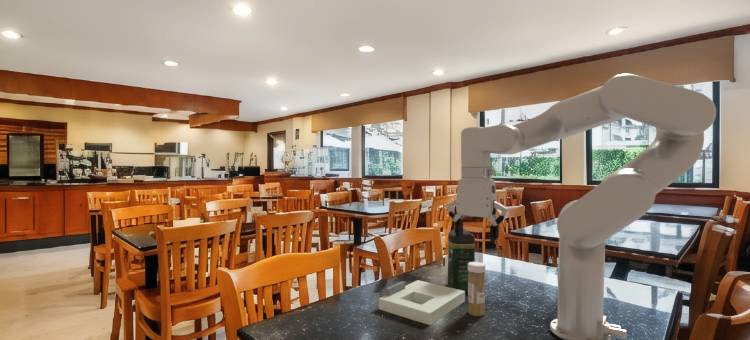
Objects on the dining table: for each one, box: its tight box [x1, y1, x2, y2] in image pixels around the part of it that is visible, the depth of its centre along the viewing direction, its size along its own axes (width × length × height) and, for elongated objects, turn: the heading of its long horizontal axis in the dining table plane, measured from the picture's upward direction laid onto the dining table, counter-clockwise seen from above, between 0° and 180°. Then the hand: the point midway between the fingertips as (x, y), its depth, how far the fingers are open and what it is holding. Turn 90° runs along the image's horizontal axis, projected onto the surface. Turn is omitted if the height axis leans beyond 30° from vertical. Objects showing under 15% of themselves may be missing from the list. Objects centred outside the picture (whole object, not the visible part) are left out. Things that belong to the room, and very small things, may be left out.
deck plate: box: [378, 279, 466, 326], centre depth 107 cm, size 16×20×5 cm
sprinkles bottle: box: [467, 261, 486, 317], centre depth 101 cm, size 5×5×13 cm
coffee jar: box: [447, 228, 476, 293], centre depth 121 cm, size 10×8×19 cm
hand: (476, 238), depth 101 cm, fingers open, 9 cm apart
